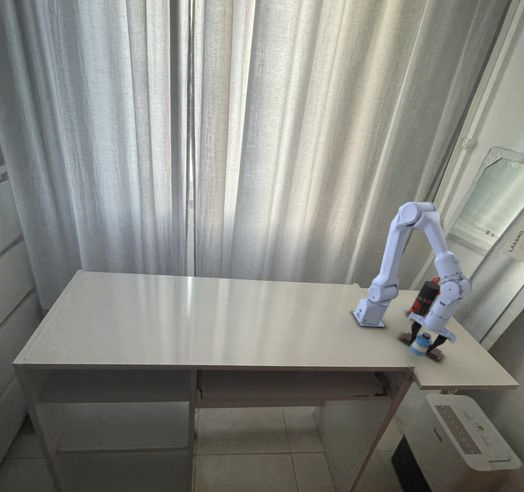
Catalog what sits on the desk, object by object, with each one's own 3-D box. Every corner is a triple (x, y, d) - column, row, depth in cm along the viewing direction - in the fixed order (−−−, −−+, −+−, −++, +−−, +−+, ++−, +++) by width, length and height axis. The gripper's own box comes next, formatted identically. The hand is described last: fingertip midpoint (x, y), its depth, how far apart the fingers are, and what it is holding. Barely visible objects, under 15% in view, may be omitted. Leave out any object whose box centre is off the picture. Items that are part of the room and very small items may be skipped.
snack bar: (399, 339, 112) (401, 335, 111) (404, 334, 115) (406, 330, 114) (438, 361, 105) (440, 357, 104) (441, 355, 108) (444, 352, 107)
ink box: (432, 309, 134) (450, 280, 126) (422, 313, 130) (440, 283, 122) (424, 305, 136) (441, 275, 128) (414, 308, 132) (431, 278, 124)
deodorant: (424, 323, 124) (443, 291, 115) (408, 319, 124) (426, 286, 116) (420, 314, 129) (438, 283, 120) (406, 310, 129) (423, 279, 121)
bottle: (414, 356, 101) (424, 339, 97) (406, 345, 105) (416, 329, 101) (428, 356, 102) (438, 340, 98) (419, 345, 106) (429, 329, 102)
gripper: (468, 321, 95) (445, 354, 102) (420, 298, 101) (402, 330, 109) (463, 330, 90) (439, 364, 97) (413, 305, 97) (395, 338, 104)
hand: (419, 347), depth 103 cm, fingers closed on bottle, 5 cm apart
